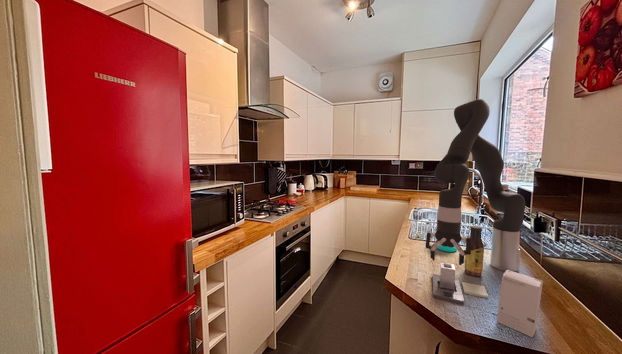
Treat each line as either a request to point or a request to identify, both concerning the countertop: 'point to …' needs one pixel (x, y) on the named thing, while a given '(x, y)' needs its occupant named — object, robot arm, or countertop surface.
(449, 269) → the square post
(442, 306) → the countertop surface
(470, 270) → the sauce bottle
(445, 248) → the donuts
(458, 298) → the rectangular plate with hole
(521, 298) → the skincare box
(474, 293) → the pad
